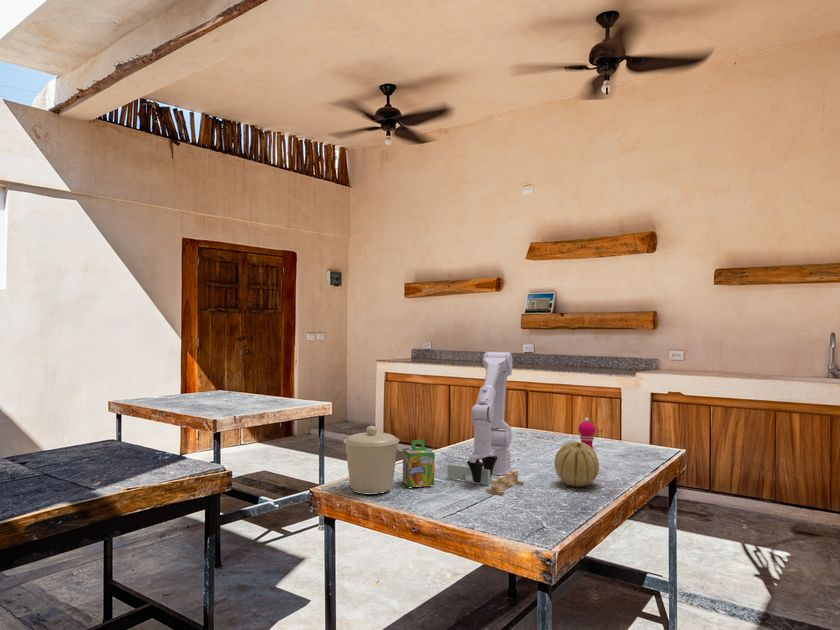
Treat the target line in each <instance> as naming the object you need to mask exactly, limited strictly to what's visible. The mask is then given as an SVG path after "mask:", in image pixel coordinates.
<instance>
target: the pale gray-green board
mask: <svg viewBox="0 0 840 630" xmlns="http://www.w3.org/2000/svg"><path fill="white" fill-rule="evenodd" d="M466 475H467V476H470V477H471V483H472V482H474V480H473V476H472V472H471V470H470V467H469V465H462V464H457V463H456V464H455V463H451V462H450V463H447V478H448V477H449V478H454V479H460V480H465V479H466ZM465 481H466V480H465ZM475 483H476V482H474V483H473V484H475ZM480 484H484V485H483V486H485V485H489V486H491V478H490V470H487V469H484V468H482V472H481V481H480V483H479V484H478V485H480Z"/></svg>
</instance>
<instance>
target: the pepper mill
mask: <svg viewBox="0 0 840 630" xmlns="http://www.w3.org/2000/svg"><path fill="white" fill-rule="evenodd" d="M577 428H578V432H579V434H580V435H579V439H580V442H582V443H585V444H587V445H589V446H590V447H591V448H592V449H593V450H594V447H593V443H594V440H595V438H594V437H595V436H594V434H595V433H596V426H595V425H594V423H592V422H590V418H589V417H585V418H584V420H583V422H581V423H579V425H578V427H577Z"/></svg>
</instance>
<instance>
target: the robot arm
mask: <svg viewBox="0 0 840 630" xmlns="http://www.w3.org/2000/svg"><path fill="white" fill-rule="evenodd" d="M482 357H483V359H482V361H483V367H484V370H485V377H484V385H482V386H481V387H480V388H479V392H478V394H477V395H478V396H477V399H476V403H475V404H474V405H472V408H471V421H472V426H473V453H472V454H471V455H469V456H468V458H469V459H468V460H467V462H466V463H467V466H469V467H470V470H471V472H472V476H473V480H474V482H476V483H480V481H481V472H482V469H487V470H490V479H491V478H492V476H493V475H494V476H495V475H496V476H504V475H505V473H508V472H510V471H512V470H514V469H513V468H512V466H511V465H512V462H511V461H512V460H511V459H512V455H511V454H512V453H511V450H510V449H509V448H510V446H511V443H512V441H513V440H512V428H511V426H510V425H509V423H507V422H506V421H505V412H506V411H505V410H506V392H507V380H508V378H509V376H511V375H512V372H513V361H514V359H513V355H512V353H511V352H510V351H506V352H505V351H502V352H501V351H485V353H484V354H483V356H482ZM472 476H471V477H472Z"/></svg>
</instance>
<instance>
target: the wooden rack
mask: <svg viewBox="0 0 840 630" xmlns="http://www.w3.org/2000/svg"><path fill="white" fill-rule="evenodd" d="M504 475H505V476H504ZM504 475H498V476H496V477H494V478H492V479H490V482H491V488H485V493H486V492H488V493H487V494H491V493H492V494H491V495H496V494H497V495H496V496H501V495H503V496H504V495H505V490H507V488H508V489H509V487H510V488H512V487H514V486H515V484H516V485H517V484H520V485H519V486H524V485H525V482H524V481H523V480H519V470H518V469H517V470H516V469H513V470H512V471H510V472H508V473H505V474H504ZM523 484H524V485H523ZM513 485H514V486H513ZM511 486H512V487H511Z"/></svg>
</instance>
